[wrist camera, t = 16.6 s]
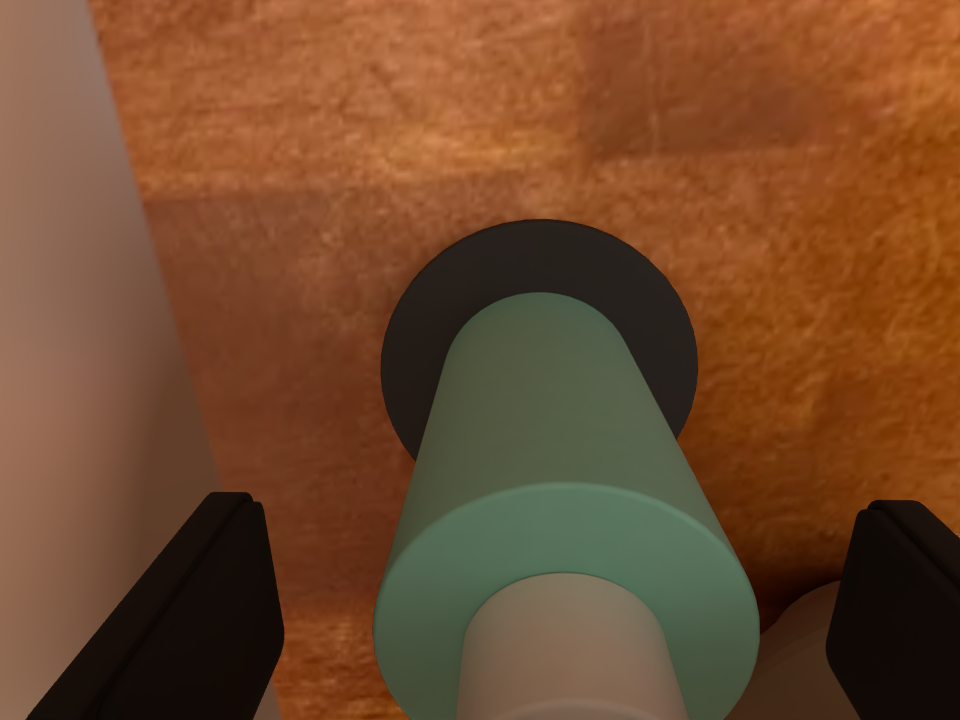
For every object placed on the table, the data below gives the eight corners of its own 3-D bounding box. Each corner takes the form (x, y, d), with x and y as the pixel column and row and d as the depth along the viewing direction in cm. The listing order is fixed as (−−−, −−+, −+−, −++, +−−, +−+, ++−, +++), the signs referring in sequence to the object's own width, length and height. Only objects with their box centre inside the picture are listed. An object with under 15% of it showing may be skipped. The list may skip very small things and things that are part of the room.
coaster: (353, 459, 19) (349, 467, 19) (429, 174, 16) (426, 175, 16) (622, 537, 20) (625, 548, 19) (748, 277, 16) (755, 281, 16)
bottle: (421, 436, 18) (290, 882, 7) (474, 266, 16) (400, 535, 6) (592, 487, 18) (703, 983, 8) (663, 325, 17) (940, 689, 6)
